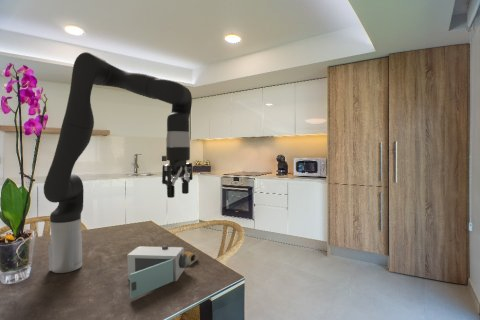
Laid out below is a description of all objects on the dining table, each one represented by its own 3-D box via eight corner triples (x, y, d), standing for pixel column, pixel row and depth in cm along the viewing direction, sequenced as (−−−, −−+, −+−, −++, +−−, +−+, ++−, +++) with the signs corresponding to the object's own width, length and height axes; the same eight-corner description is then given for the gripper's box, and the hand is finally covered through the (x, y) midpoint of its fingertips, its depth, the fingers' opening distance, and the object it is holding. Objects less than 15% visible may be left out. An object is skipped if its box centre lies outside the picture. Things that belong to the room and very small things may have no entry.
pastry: (167, 263, 105) (167, 252, 105) (178, 256, 112) (178, 247, 111) (189, 267, 102) (188, 256, 102) (199, 260, 108) (199, 250, 108)
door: (132, 299, 78) (131, 274, 78) (129, 298, 79) (129, 273, 78) (176, 280, 89) (176, 258, 89) (174, 279, 90) (173, 257, 90)
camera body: (127, 279, 92) (127, 252, 91) (139, 269, 100) (138, 244, 99) (182, 281, 90) (181, 253, 90) (189, 270, 98) (188, 245, 98)
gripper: (180, 146, 101) (180, 191, 102) (154, 145, 88) (155, 198, 88) (198, 146, 98) (199, 193, 99) (175, 145, 85) (176, 199, 86)
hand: (178, 195), depth 94 cm, fingers open, 8 cm apart
